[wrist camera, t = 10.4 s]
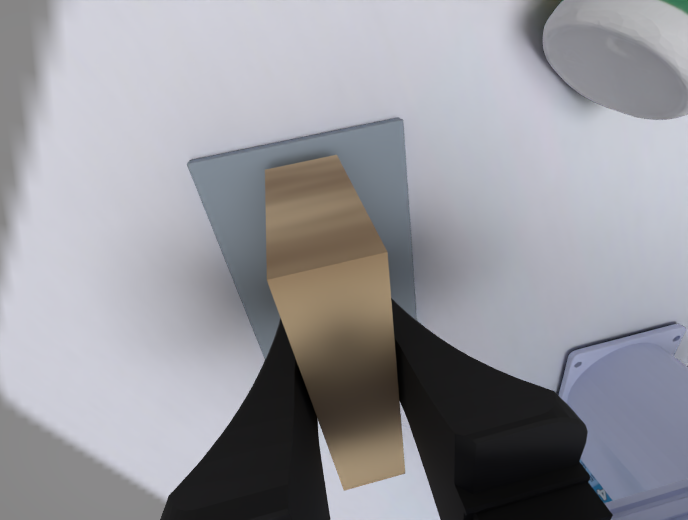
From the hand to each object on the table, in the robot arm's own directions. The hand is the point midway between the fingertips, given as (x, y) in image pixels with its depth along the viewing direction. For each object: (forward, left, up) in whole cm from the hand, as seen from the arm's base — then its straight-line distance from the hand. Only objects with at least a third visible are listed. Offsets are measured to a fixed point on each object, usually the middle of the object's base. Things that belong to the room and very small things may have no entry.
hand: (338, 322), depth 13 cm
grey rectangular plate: (0, 0, -4) cm, 4 cm away
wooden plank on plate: (0, 0, -3) cm, 3 cm away
